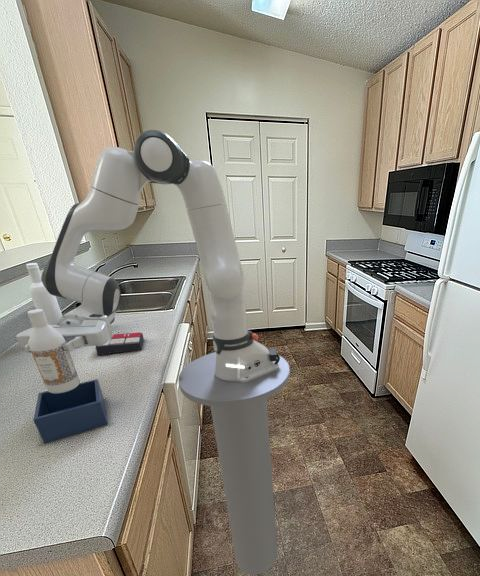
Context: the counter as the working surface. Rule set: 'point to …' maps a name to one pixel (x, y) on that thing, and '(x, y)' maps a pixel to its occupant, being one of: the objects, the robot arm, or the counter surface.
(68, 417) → the blue storage bin
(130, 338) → the red white black box
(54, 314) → the bottle
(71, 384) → the bath foam
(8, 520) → the counter surface
